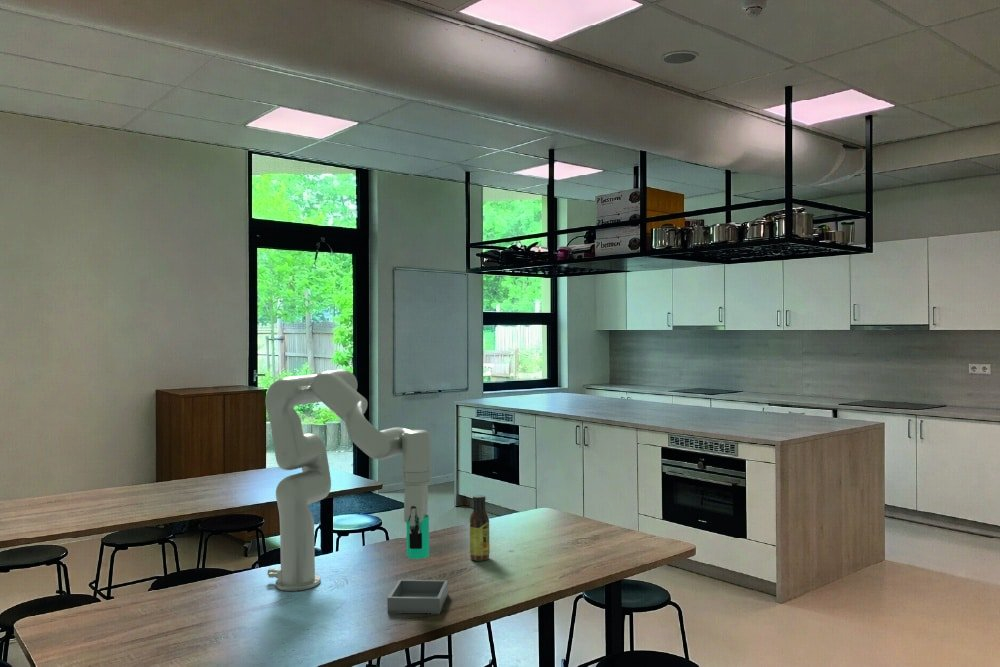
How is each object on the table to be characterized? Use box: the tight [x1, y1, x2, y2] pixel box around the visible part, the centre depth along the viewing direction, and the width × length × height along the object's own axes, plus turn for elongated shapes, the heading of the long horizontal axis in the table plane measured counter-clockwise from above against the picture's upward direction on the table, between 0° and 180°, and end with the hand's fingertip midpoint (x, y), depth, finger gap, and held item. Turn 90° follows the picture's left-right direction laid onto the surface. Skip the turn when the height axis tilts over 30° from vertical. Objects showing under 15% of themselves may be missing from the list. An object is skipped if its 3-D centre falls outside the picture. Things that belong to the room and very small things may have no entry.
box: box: [386, 579, 449, 615], centre depth 195 cm, size 14×14×4 cm
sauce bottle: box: [469, 494, 491, 562], centre depth 232 cm, size 7×6×20 cm
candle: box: [405, 514, 430, 560], centre depth 195 cm, size 6×6×12 cm
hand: (418, 544), depth 195 cm, fingers closed on candle, 4 cm apart
